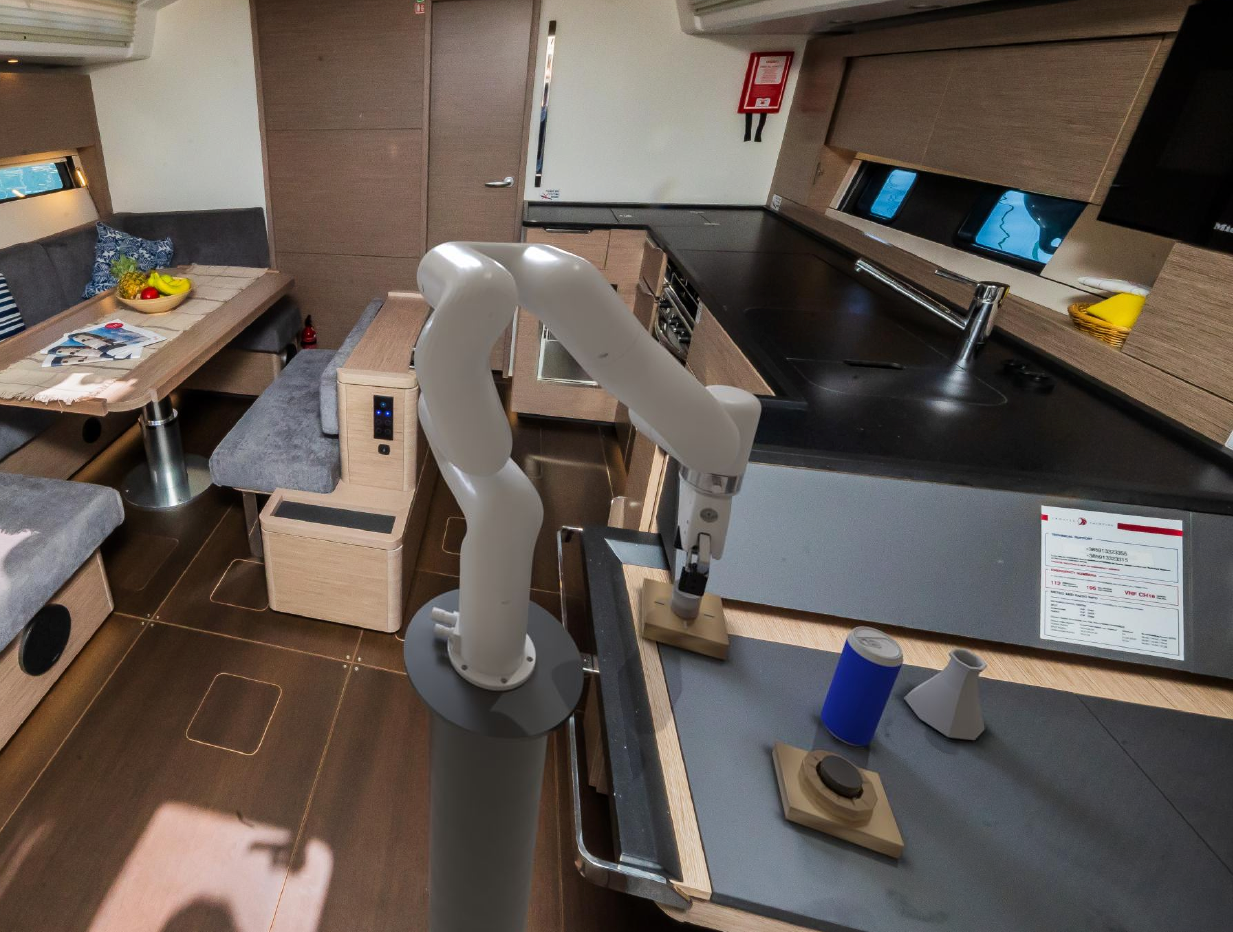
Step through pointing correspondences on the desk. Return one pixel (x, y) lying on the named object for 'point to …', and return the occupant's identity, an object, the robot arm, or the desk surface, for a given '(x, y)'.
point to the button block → (835, 802)
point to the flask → (952, 697)
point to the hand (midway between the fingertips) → (687, 570)
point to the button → (840, 776)
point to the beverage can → (861, 685)
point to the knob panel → (683, 621)
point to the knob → (684, 603)
